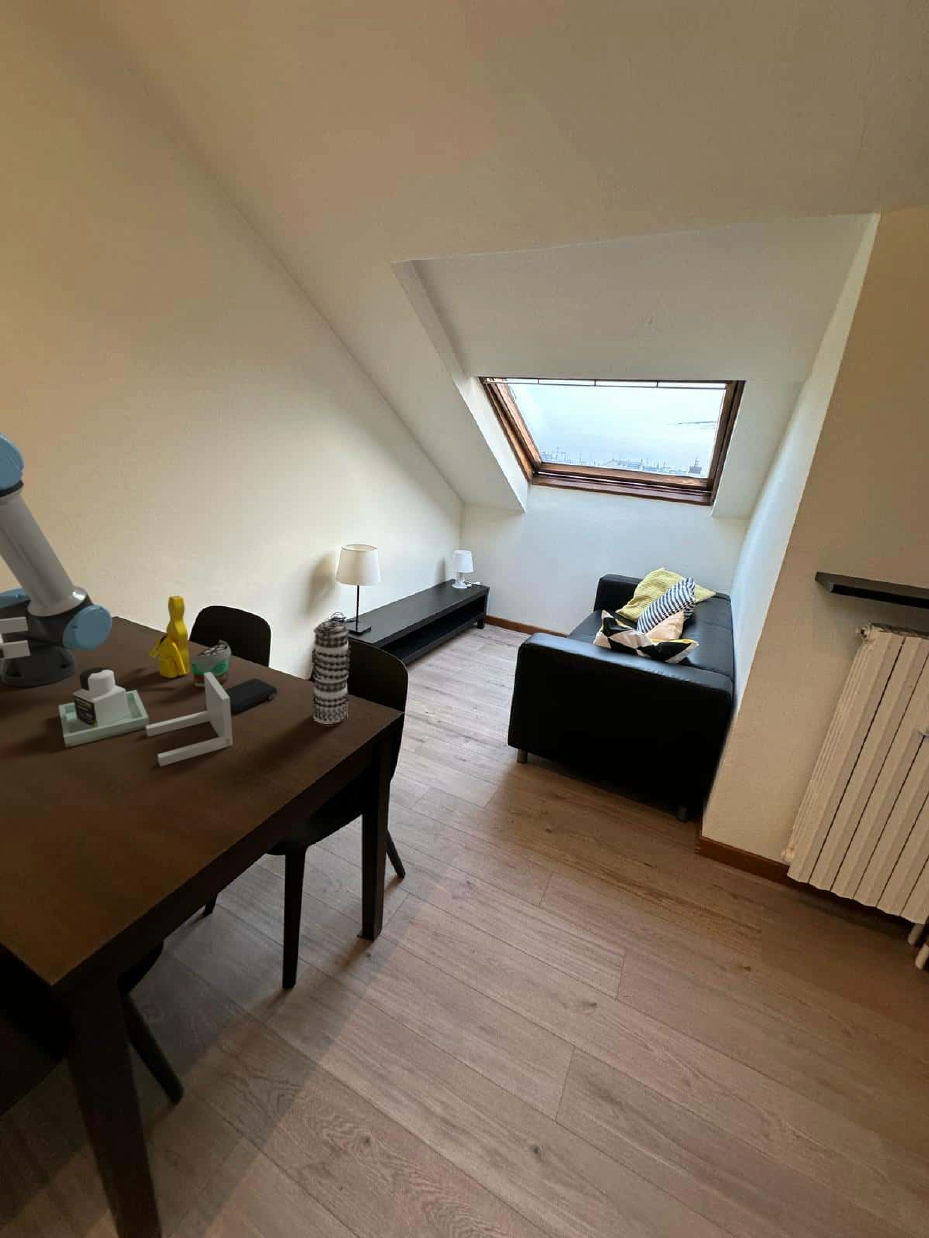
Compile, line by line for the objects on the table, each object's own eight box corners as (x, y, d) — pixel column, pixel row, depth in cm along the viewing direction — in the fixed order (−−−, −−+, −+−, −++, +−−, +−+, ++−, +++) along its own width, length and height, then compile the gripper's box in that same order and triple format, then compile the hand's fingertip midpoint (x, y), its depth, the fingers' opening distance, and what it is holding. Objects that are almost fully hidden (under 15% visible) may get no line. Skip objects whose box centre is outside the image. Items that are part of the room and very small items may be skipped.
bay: (146, 733, 109) (140, 685, 105) (214, 716, 118) (210, 671, 114) (160, 766, 99) (153, 715, 95) (232, 745, 108) (229, 697, 104)
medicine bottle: (76, 720, 109) (67, 672, 105) (109, 707, 116) (102, 661, 112) (97, 730, 107) (89, 681, 103) (129, 715, 113) (123, 669, 109)
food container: (212, 695, 127) (209, 660, 124) (191, 690, 128) (188, 656, 125) (242, 675, 138) (240, 643, 135) (222, 671, 139) (220, 639, 136)
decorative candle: (356, 718, 124) (359, 626, 115) (324, 730, 117) (324, 634, 109) (336, 703, 129) (338, 615, 121) (304, 714, 123) (304, 622, 115)
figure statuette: (143, 667, 137) (134, 593, 129) (172, 659, 143) (164, 587, 136) (178, 688, 128) (170, 610, 121) (207, 678, 134) (201, 603, 127)
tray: (60, 714, 112) (58, 705, 111) (137, 698, 122) (136, 689, 121) (65, 747, 102) (63, 737, 101) (149, 726, 111) (148, 717, 110)
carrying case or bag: (235, 719, 118) (283, 697, 130) (234, 708, 117) (283, 686, 129) (207, 705, 123) (256, 684, 135) (206, 694, 122) (256, 674, 134)
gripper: (-123, 650, 90) (29, 631, 103) (-155, 710, 73) (33, 678, 86) (-136, 611, 87) (22, 597, 101) (-172, 665, 70) (25, 639, 84)
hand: (27, 635), depth 93 cm, fingers open, 13 cm apart
